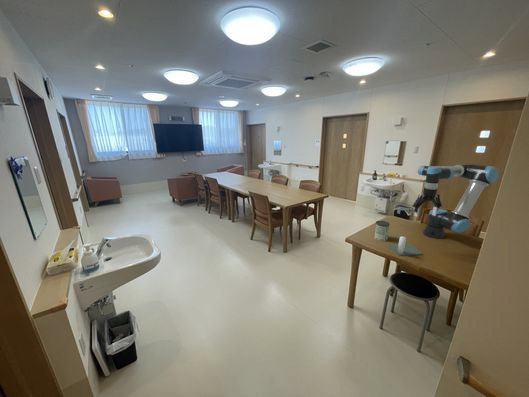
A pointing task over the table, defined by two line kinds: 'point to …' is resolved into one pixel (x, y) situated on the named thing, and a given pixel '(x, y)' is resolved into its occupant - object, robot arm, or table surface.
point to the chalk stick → (401, 244)
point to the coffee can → (381, 230)
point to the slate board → (406, 250)
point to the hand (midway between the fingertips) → (424, 215)
